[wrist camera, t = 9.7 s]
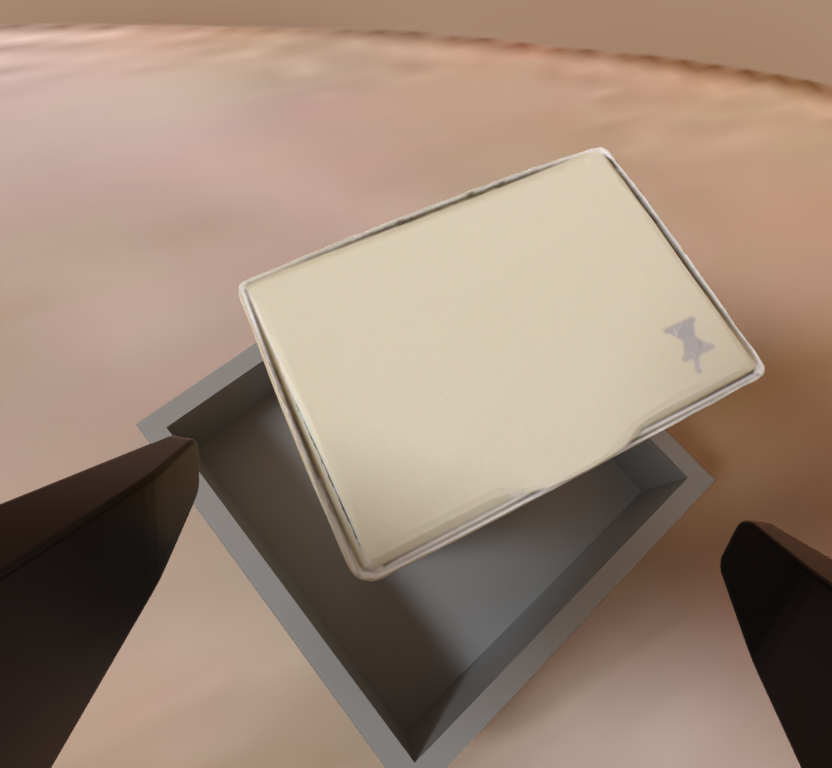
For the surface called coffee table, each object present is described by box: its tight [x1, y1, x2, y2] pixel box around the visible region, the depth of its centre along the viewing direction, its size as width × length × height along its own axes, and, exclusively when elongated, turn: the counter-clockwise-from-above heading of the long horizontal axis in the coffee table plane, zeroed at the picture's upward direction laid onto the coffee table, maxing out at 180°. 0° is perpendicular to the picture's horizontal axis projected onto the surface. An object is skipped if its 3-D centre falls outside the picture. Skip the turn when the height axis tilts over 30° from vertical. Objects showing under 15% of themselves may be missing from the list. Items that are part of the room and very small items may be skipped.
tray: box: [136, 343, 715, 768], centre depth 18 cm, size 12×12×4 cm
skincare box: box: [238, 147, 765, 582], centre depth 13 cm, size 6×4×12 cm
